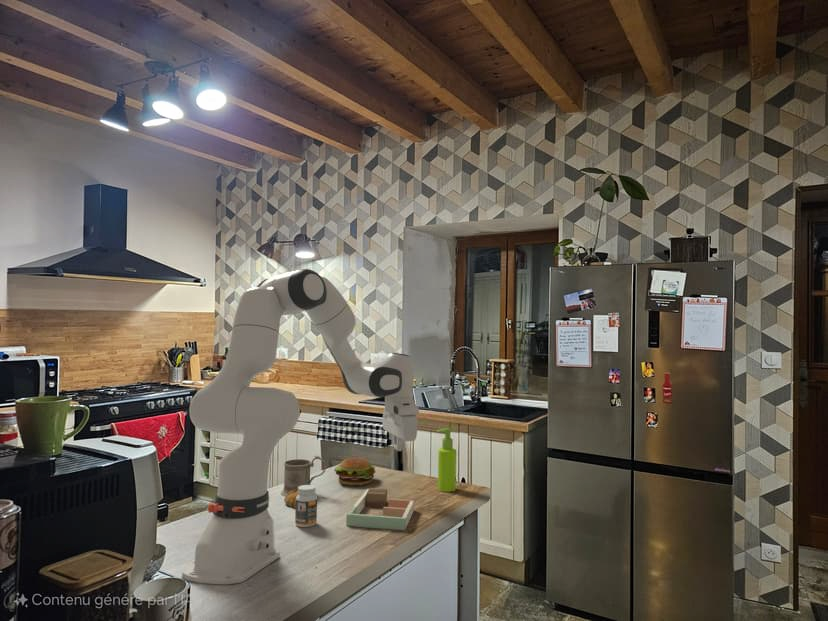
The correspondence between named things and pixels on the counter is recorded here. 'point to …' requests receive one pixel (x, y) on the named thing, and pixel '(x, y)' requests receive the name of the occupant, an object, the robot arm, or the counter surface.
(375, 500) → the block
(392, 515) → the box
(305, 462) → the mug
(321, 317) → the robot arm
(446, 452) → the soap dispenser
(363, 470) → the food
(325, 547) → the counter surface
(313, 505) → the pill bottle
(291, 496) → the pastry
